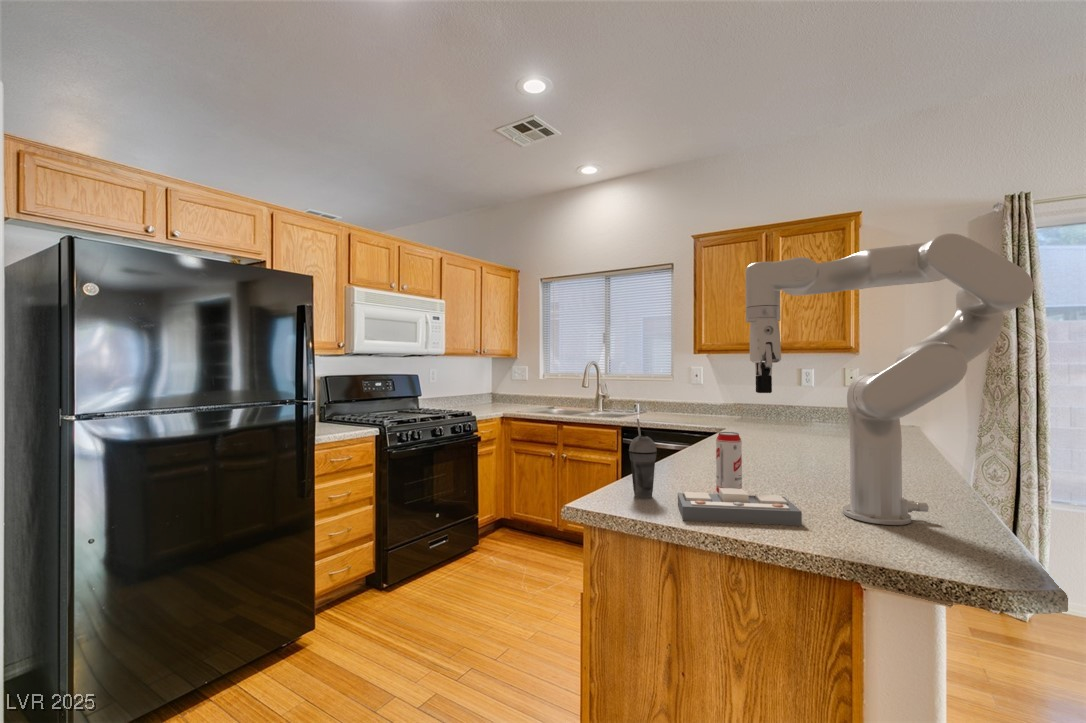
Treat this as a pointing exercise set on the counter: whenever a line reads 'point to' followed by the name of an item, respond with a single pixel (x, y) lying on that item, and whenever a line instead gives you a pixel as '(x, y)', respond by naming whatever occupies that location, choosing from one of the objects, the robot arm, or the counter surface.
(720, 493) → the middle key
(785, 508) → the button board
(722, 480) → the beer can
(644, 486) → the beverage cup
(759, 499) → the key
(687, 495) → the key
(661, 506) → the counter surface
